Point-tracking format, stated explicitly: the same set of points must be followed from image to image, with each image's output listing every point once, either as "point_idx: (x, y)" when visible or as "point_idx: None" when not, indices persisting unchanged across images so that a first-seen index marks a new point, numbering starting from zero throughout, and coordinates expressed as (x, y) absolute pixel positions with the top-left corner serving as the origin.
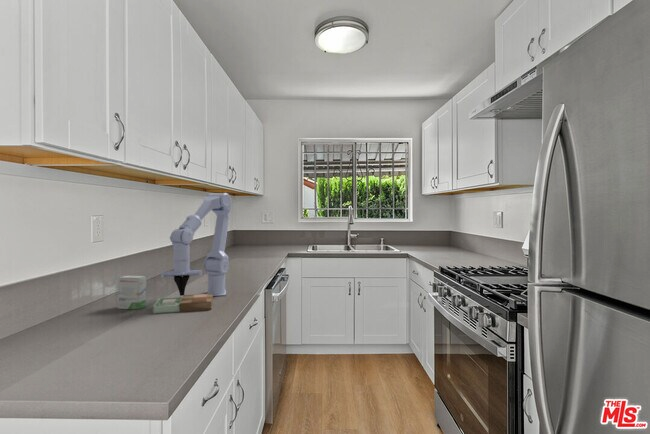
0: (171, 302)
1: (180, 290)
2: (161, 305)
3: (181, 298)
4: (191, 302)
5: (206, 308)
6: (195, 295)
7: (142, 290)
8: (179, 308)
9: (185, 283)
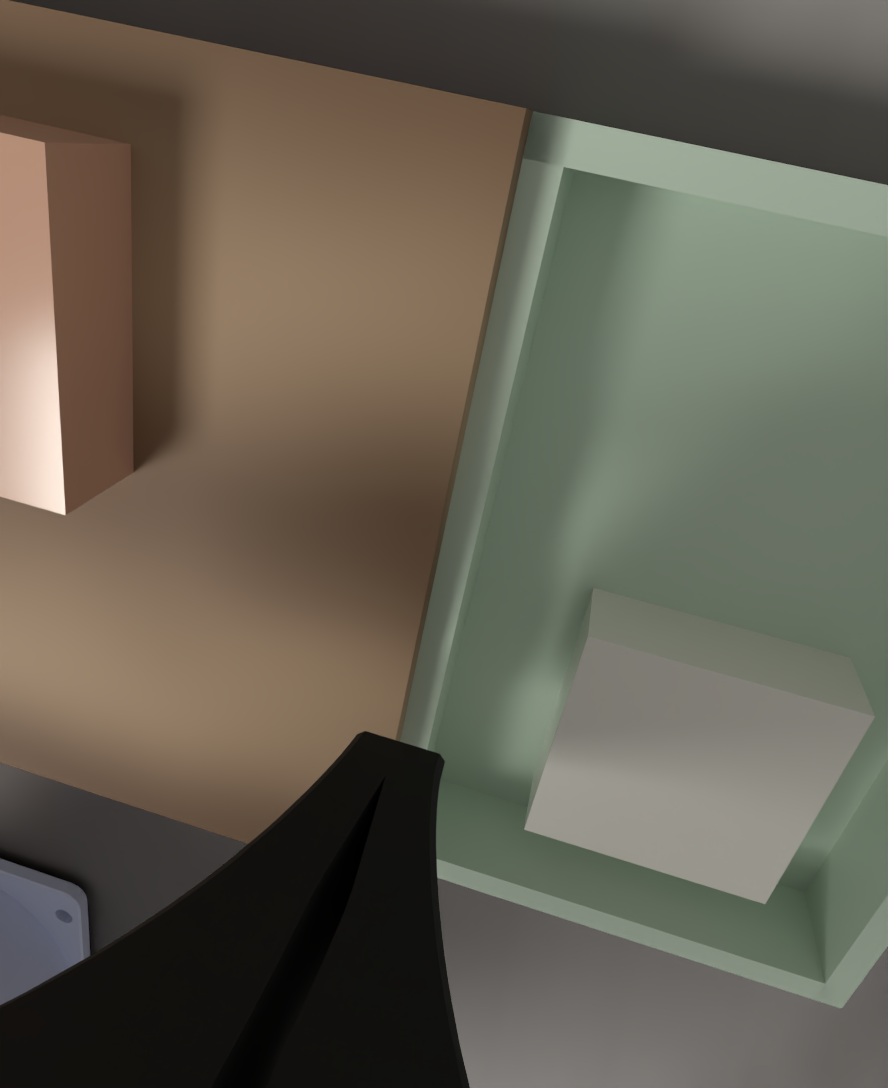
0: (658, 651)
1: (392, 836)
2: None
3: None
4: (181, 82)
5: None
6: (31, 411)
7: None
8: None
9: (129, 959)
